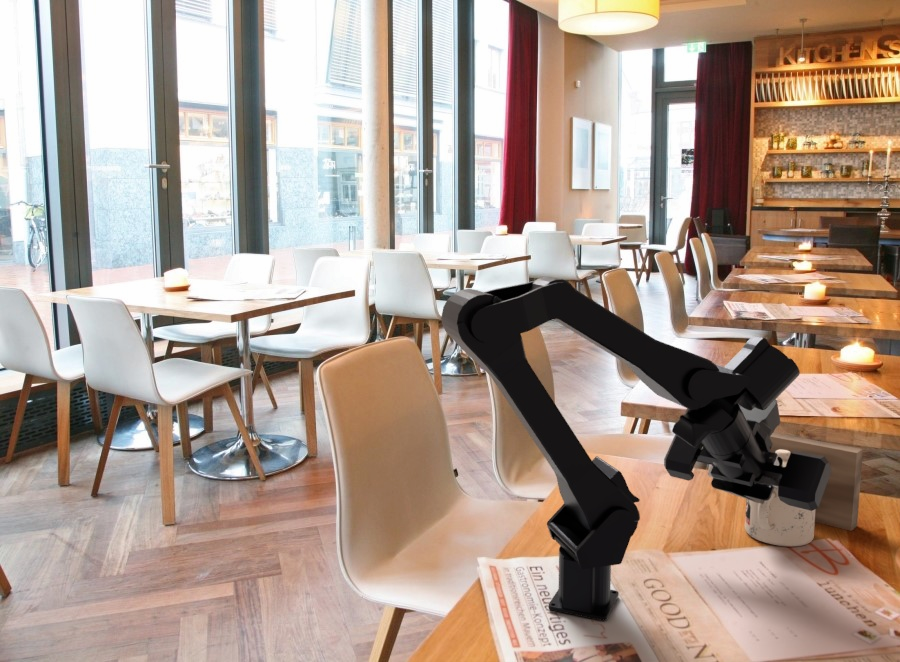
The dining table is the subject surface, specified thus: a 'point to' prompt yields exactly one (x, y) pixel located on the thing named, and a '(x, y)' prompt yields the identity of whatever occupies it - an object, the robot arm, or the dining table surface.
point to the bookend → (831, 478)
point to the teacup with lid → (779, 519)
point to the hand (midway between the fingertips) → (761, 500)
